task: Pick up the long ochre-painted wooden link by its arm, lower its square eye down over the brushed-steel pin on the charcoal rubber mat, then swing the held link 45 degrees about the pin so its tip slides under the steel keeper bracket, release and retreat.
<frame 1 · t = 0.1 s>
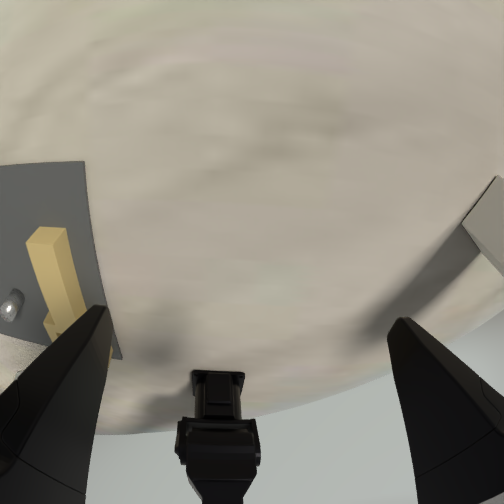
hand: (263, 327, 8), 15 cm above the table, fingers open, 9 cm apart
link: (53, 234, 22), resting on mat
milk carton: (488, 214, 24), on the table
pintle: (18, 294, 25), resting on mat
mat: (8, 272, 24), on the table
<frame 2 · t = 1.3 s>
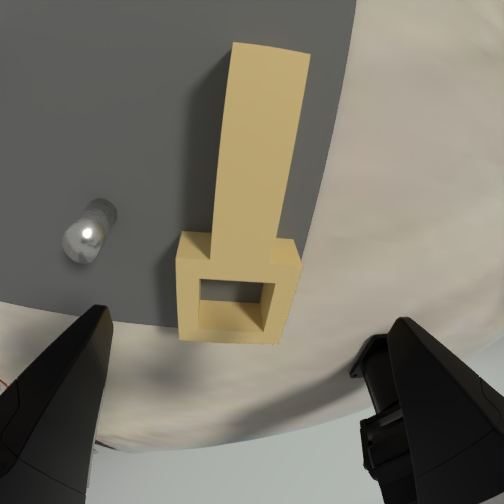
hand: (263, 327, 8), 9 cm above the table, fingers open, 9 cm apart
link: (262, 65, 12), resting on mat
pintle: (101, 213, 15), resting on mat
mat: (91, 162, 14), on the table
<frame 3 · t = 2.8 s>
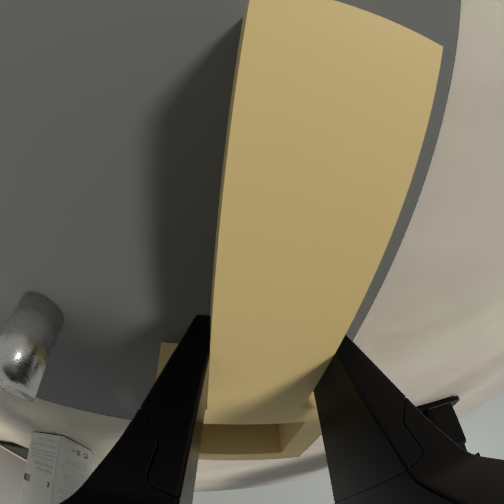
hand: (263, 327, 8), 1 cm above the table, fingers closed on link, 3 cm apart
skincare box: (62, 440, 20), on the table
link: (307, 57, 5), resting on mat, touching gripper
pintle: (42, 311, 9), resting on mat
mat: (12, 238, 7), on the table
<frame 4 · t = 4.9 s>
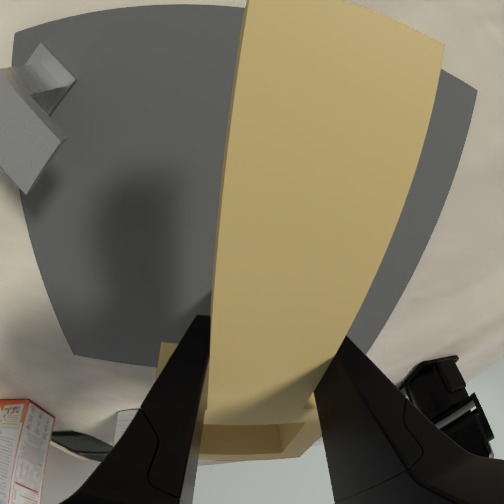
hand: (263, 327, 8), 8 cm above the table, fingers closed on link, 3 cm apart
skincare box: (147, 415, 29), on the table
cracker box: (23, 407, 30), on the table
link: (308, 55, 5), point 7 cm above the table, touching gripper
mat: (229, 244, 16), on the table
keeper: (37, 97, 10), resting on mat
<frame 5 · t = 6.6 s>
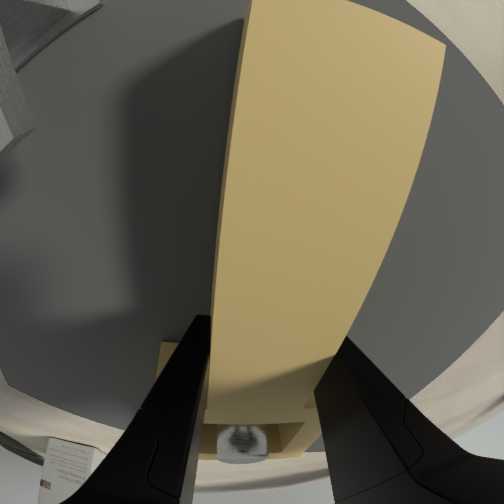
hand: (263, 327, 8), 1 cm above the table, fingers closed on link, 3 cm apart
skincare box: (81, 447, 20), on the table
link: (309, 55, 5), resting on mat, touching gripper
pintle: (238, 389, 12), resting on mat
mat: (258, 344, 11), on the table
keeper: (22, 21, 4), resting on mat
when the fingers open (1 cm above the table, at t = 7.4 s): link stays where it is, resting on mat.
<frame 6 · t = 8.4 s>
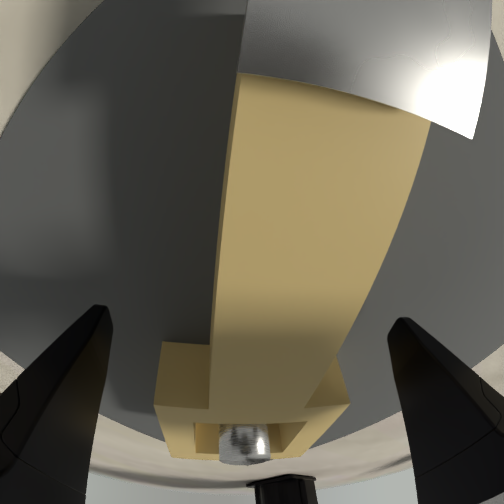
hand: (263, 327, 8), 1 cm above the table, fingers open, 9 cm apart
link: (310, 54, 5), resting on mat
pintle: (240, 390, 12), resting on mat
mat: (290, 353, 11), on the table
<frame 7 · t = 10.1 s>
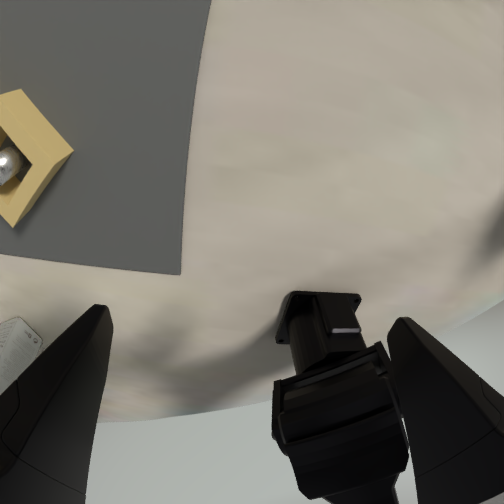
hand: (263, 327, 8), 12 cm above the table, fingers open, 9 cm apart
skincare box: (20, 331, 25), on the table
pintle: (23, 153, 15), resting on mat
mat: (18, 111, 13), on the table
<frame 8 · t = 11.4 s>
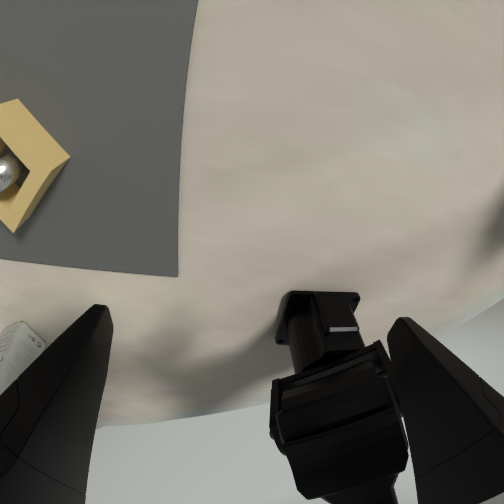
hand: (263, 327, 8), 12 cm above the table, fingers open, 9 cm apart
skincare box: (24, 336, 26), on the table
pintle: (21, 160, 15), resting on mat
mat: (16, 120, 14), on the table
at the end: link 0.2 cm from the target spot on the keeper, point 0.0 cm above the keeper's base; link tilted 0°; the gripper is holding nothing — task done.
